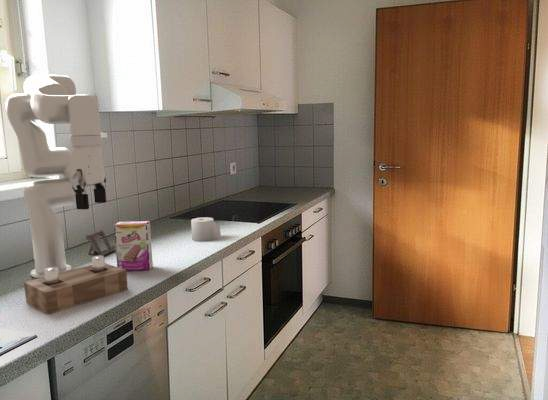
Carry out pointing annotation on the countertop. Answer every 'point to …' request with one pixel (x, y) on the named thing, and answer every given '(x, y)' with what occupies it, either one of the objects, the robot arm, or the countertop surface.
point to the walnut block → (75, 288)
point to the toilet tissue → (204, 229)
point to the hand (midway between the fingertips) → (92, 205)
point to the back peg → (98, 264)
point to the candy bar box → (133, 245)
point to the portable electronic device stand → (95, 240)
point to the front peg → (51, 276)
